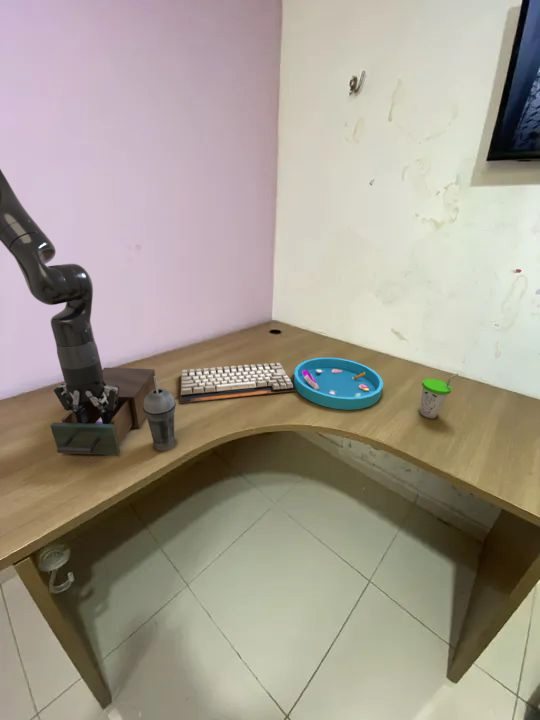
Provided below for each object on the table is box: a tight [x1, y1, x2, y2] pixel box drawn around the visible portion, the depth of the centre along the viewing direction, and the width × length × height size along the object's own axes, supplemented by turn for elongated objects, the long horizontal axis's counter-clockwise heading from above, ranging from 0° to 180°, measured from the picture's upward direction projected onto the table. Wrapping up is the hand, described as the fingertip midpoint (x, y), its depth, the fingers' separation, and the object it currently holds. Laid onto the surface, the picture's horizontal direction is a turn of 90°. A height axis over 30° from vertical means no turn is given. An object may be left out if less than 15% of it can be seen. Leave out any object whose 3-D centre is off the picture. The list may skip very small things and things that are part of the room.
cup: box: [419, 373, 459, 419], centre depth 91 cm, size 8×8×15 cm
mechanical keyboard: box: [179, 362, 296, 405], centre depth 106 cm, size 38×19×3 cm, turn 105°
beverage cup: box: [143, 375, 177, 452], centre depth 73 cm, size 7×7×20 cm
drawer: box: [50, 399, 135, 456], centre depth 75 cm, size 19×14×8 cm
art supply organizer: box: [293, 357, 384, 411], centre depth 107 cm, size 30×30×6 cm
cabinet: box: [102, 367, 156, 429], centre depth 88 cm, size 16×15×10 cm
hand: (95, 423), depth 75 cm, fingers open, 4 cm apart
